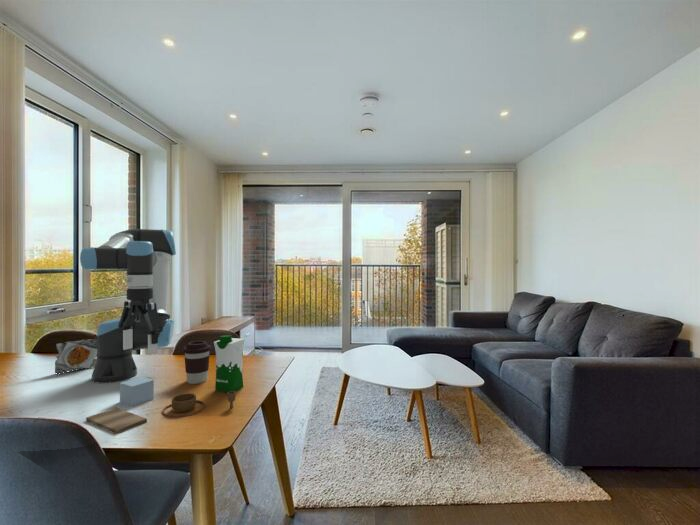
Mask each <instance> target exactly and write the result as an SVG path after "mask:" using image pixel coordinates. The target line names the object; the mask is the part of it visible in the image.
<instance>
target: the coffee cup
mask: <svg viewBox="0 0 700 525" xmlns="http://www.w3.org/2000/svg"><path fill="white" fill-rule="evenodd" d="M211 350H212V345H211V344H208V342H207V341H204V340H197V341H196V340H195V341H190V342H189V343H187V344H186V346H184V347H183V348H182V353H183V354H184V365H185V366H184V367H185V373H186V374H185V375H186V383H188V384H190V385H194V384H201V383H204V382H207V380H208V373H209V368H210V351H211Z"/></svg>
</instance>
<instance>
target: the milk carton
mask: <svg viewBox="0 0 700 525" xmlns="http://www.w3.org/2000/svg"><path fill="white" fill-rule="evenodd" d="M244 344H245V338H237V337H232V335H231V334H222V335H220V336H219V340H216V341H213V345H214V351H215V383H214V384H215V387H214V388H215V390H214V391H215V392H221V393H226V394H227V393H228V392H231V391H234V392H236V391H238V390H240V389H242V388H244V377H243V350H244Z"/></svg>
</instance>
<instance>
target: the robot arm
mask: <svg viewBox="0 0 700 525" xmlns="http://www.w3.org/2000/svg"><path fill="white" fill-rule="evenodd" d="M80 251H81V252H80V255H79V261H80V262H79V263H80V265H81V267H82V269H84V270H94V271H96V270H126V279H125V281H126V287H127V289H126V300H125V301H124V302H123V309H122V313H121V316H120V318H115V319H111V320H110V319H109V320H106V321H103V322H101V323H99V324H98V326H97V329H96V330H97V332H96V339H97V356H96V359H97V362H96V365H95V367H93V371H92V372H91V382H92V381H94V382H93V383H95V382H99V383H98V384H108V383H109V382H110V383H116V382H121V381H122V382H124V381H127V380H131V379H133V378H134V377H136V376H137V375H138V367H137V365H136V362H135V359H134V357H133V350H143V349H144V350H145V349H147V355H148V356H149V355H154V354H155V355H156V354H157V353H158V349H159V348H164V347H168V346H169V345H171V342H172V338H173V332H174V324H175V320H174V319H173V318H171V314H170V313H168V311H167V309H168V308H167V306H168V304H167V303H168V280H169V279H168V277H169V262H170V261H172V260H173V256H175V255H176V254H177V253H176V244H175V237H174V232H173V231H172V230H168V229H162V228H161V229H149V228H147V229H146V228H144V229H143V228H133V229H126V230H122V231H119V232H116V233H115V234H113V235H111V236H110V237H109V240H108V241H106V242H104V243H102V244H101V245H100V246H98V247H93V246H91V247H83V248H82V249H81V250H80ZM137 317H138V320H136V319H137Z"/></svg>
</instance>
